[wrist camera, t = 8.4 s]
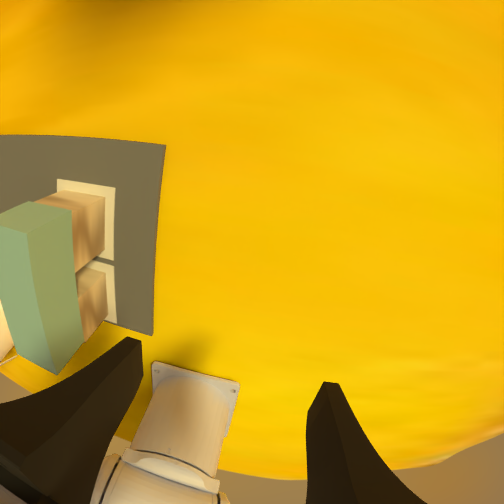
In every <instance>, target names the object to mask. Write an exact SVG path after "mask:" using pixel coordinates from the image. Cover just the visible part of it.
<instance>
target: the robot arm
mask: <svg viewBox="0 0 504 504" xmlns="http://www.w3.org/2000/svg"><path fill="white" fill-rule="evenodd" d="M142 377H143V362H142V344H141V341H140V340H137V339H134V338H131V337H126V338H124V339H123V340H122V341H120V342H119V343H118V344H116V345H115V346H114V347H112V348H111V349H110V350H108V351H107V352H106V353H104V354H103V355H102V356H100V357H99V358H97V359H96V360H95V361H93V362H92V363H90V364H89V365H87V366H86V367H84V368H83V369H81V370H80V371H78V372H76V373H75V374H73V375H72V376H70V377H68V378H66V379H65V380H63V381H61V382H59V383H57V384H55V385H53V386H51V387H49V388H47V389H44V390H42V391H40V392H37V393H35V394H32V395H30V396H27V397H23V398H20V399H17V400H14V401H10V402H6V403H1V404H0V504H230V502H229V500H228V499H227V496H226V495H225V493H223V492H220V491H218V489H219V484H220V481H219V480H216V479H215V475H216V470H217V466H218V461H219V456H220V452H221V447H222V443H223V438H224V437H226V436H227V433H228V430H229V426H230V422H231V419H232V415H233V411H234V407H235V404H236V400H237V396H238V392H239V389H240V384H239V383H238V382H236V381H231V380H227V379H222V378H218V377H214V376H210V375H206V374H202V373H198V372H194V371H190V370H186V369H182V368H179V367H175V366H172V365H168V364H165V363H161V362H158V361H154V362H153V364H152V384H153V397H152V399H151V401H150V403H149V405H148V408H147V410H146V412H145V414H144V416H143V419H142V421H141V423H140V425H139V428H138V430H137V432H136V434H135V437H134V439H133V441H132V443H131V446H130V448H128V447H127V448H126V449H125V451H124V453H123V456H122V458H121V456H120V455H117V454H112V455H111V456H107V457H105V454H106V451H107V449H108V446H109V444H110V441H111V439H112V437H113V435H114V433H115V432H116V430H117V428H118V426H119V424H120V422H121V421H122V419H123V417H124V415H125V413H126V412H127V410H128V408H129V406H130V404H131V403H132V401H133V399H134V397H135V395H136V393H137V390H138V388H139V385H140V383H141V380H142ZM232 389H234V390H232ZM306 452H307V478H308V482H307V483H308V484H307V485H308V486H307V497H306V504H427V503H425V502H424V501H423V500H421V499H420V498H419V497H418V496H416V495H415V494H414V493H413V492H412V491H411V490H409V489H408V488H407V487H406V486H405V485H404V484H403V483H402V482H401V481H400V480H399V478H398V477H397V476H396V475H395V474H394V473H393V472H392V471H391V470H390V469H389V467H388V466H387V465H386V464H385V462H384V461H383V460H382V459H381V457H380V456H379V455H378V453H377V452H376V450H375V449H374V447H373V446H372V444H371V443H370V441H369V440H368V438H367V436H366V435H365V433H364V431H363V430H362V428H361V426H360V424H359V422H358V421H357V419H356V417H355V415H354V413H353V411H352V409H351V407H350V406H349V404H348V402H347V400H346V397H345V395H344V393H343V391H342V389H341V387H340V385H339V384H338V383H331V382H323V384H322V386H321V388H320V390H319V392H318V393H317V395H316V397H315V399H314V401H313V403H312V405H311V407H310V408H309V410H308V413H307V424H306ZM104 457H105V458H104Z"/></svg>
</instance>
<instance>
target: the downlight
mask: <svg viewBox="0 0 504 504" xmlns="http://www.w3.org/2000/svg"><path fill="white" fill-rule="evenodd" d="M13 346H14V343H13V340H12V337H11V334H10V331H9V328H8V325H7V321H6V318H5V315H4V311H3V308H2V304H1V300H0V362H1V360H2V359H3V358H4V357H5V356H6V354H7V353H8V352H9V351H10V350H11V349H12V347H13ZM17 355H18V354H17ZM17 355H16V356H17ZM16 356H14V357H12V358H10V359H8V360H7V361H5V362H3V363H1V364H0V366H1V365H3V364H5V363H6V362H8V361H10V360H12V359H14V358H16Z"/></svg>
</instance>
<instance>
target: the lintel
mask: <svg viewBox="0 0 504 504" xmlns="http://www.w3.org/2000/svg"><path fill="white" fill-rule="evenodd" d="M0 300H1V304H2V308H3V311H4V315H5V318H6V321H7V325H8V328H9V331H10V334H11V337H12V340H13V343H14V346H15V348H16V351H17V354H19V355H20V356H22V357H24V358H26V359H27V360H29V361H31V362H33V363H35V364H37V365H38V366H40V367H42V368H44V369H46V370H48V371H50V372H52V373H54V374H56V375H58V374H59V373H60V371H61V370H62V369H63V367H64V366H65V365H66V364H67V362H68V361H69V360H70V359H71V357H72V356H73V355H74V353H75V352H76V351H77V350H78V348H79V347H80V346H81V345H82V343H83V342H84V341H85V340H84V334H83V329H82V323H81V316H80V310H79V303H78V295H77V287H76V277H75V267H74V254H73V237H72V210H68V209H64V208H59V207H54V206H50V205H45V204H40V203H35V202H31V201H28V202H25V203H23V204H21V205H18V206H16V207H14V208H12V209H9V210H7V211H5V212H3V213H1V214H0Z"/></svg>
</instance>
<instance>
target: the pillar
mask: <svg viewBox="0 0 504 504" xmlns="http://www.w3.org/2000/svg"><path fill="white" fill-rule="evenodd" d="M35 203H40V204H45V205H50V206H54V207H59V208H64V209H68V210H72V237H73V254H74V267H75V273H76V272H77V271H78V270H79V269H81V268H82V267H83V266H84V265H86V264H87V263H88V262H89V261H91V260H92V259H93V258H94V257H96V256H97V255H98V254H99V253H101V252H102V251H103V250H105V197H102V196H97V195H91V194H86V193H80V192H74V191H68V190H62V191H59V192H57V193H54V194H52V195H49V196H47V197H44V198H42V199H40V200H37V201H35Z"/></svg>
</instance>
